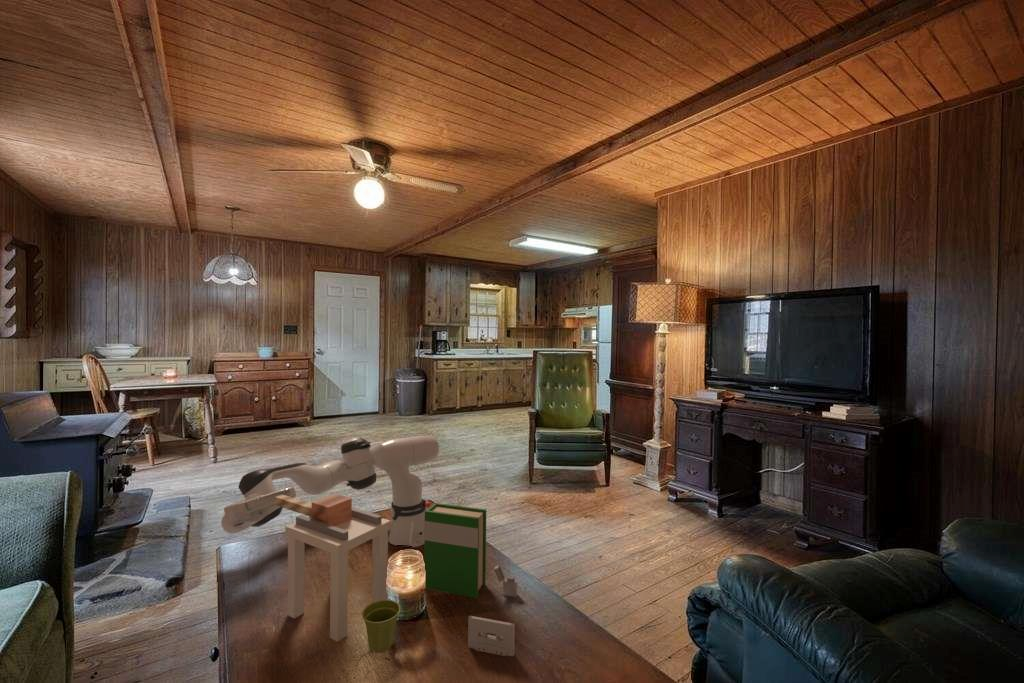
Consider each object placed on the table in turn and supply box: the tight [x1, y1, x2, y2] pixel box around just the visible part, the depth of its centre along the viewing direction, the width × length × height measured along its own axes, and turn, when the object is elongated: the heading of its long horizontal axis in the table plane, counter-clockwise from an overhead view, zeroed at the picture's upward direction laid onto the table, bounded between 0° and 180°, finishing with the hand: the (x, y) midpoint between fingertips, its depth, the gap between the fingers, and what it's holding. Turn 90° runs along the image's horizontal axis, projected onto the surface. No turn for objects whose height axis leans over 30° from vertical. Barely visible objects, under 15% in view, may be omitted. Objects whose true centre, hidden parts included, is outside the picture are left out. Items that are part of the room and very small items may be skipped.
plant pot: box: [361, 599, 402, 653], centre depth 112 cm, size 9×9×9 cm
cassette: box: [467, 615, 516, 657], centre depth 110 cm, size 12×2×8 cm, turn 75°
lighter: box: [493, 565, 518, 598], centre depth 135 cm, size 7×2×8 cm, turn 73°
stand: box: [284, 506, 392, 642], centre depth 125 cm, size 22×18×27 cm
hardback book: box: [423, 502, 487, 599], centre depth 139 cm, size 18×7×24 cm, turn 74°
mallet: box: [275, 493, 353, 526], centre depth 132 cm, size 29×8×6 cm, turn 60°
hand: (275, 494), depth 140 cm, fingers open, 8 cm apart
